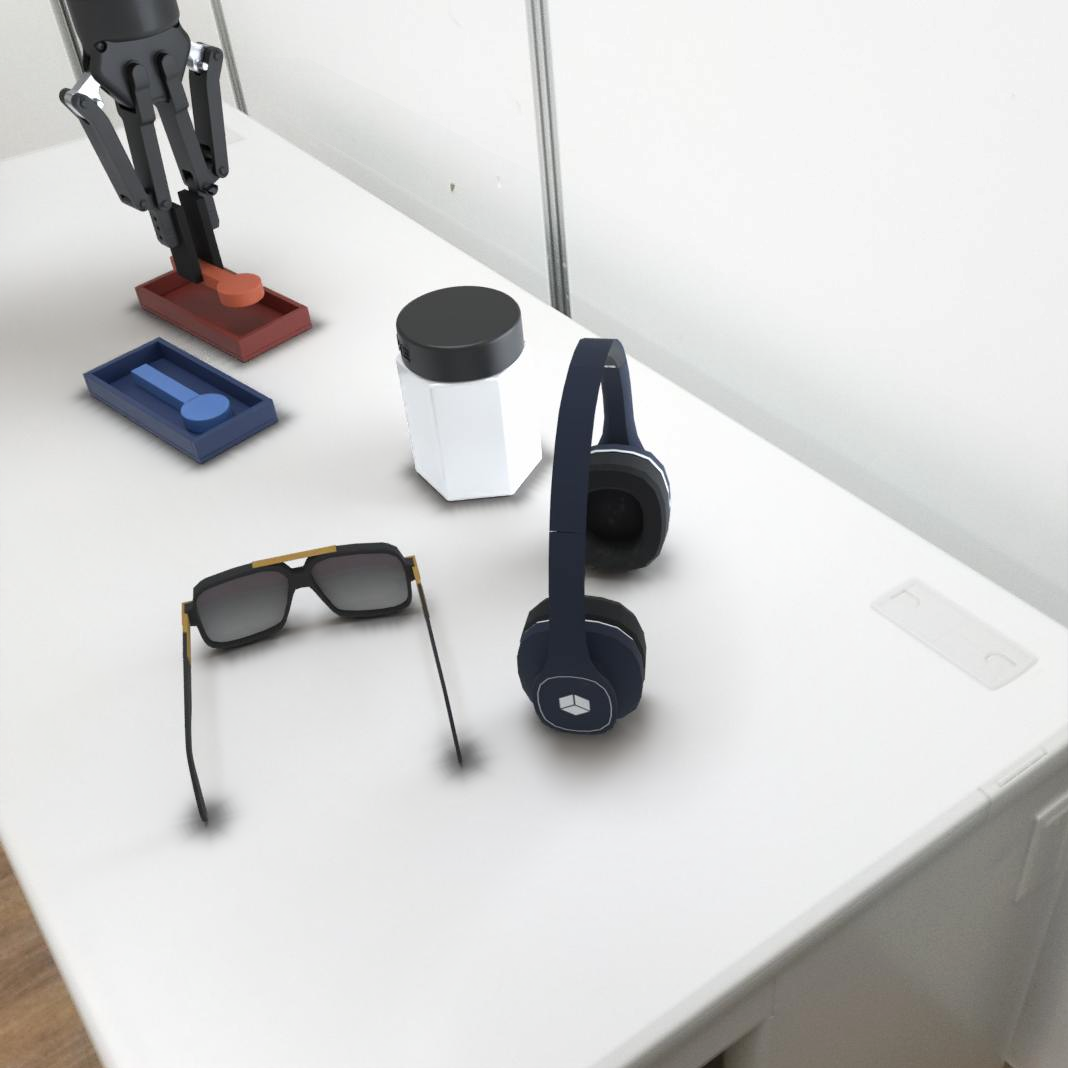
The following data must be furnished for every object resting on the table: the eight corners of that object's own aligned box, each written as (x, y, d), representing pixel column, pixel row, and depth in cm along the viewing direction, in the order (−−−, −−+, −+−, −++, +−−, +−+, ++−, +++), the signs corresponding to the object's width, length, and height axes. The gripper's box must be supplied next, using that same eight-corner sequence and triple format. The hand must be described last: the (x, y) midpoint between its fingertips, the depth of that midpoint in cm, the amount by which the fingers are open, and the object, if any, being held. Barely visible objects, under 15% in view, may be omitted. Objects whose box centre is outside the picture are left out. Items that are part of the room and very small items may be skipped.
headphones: (572, 522, 82) (551, 270, 70) (675, 527, 82) (673, 273, 69) (515, 750, 68) (477, 483, 56) (640, 760, 67) (629, 491, 55)
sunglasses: (203, 825, 65) (177, 764, 62) (196, 634, 76) (173, 573, 73) (463, 765, 67) (452, 702, 64) (420, 587, 78) (408, 526, 75)
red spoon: (162, 274, 105) (158, 261, 104) (197, 258, 107) (193, 245, 106) (237, 312, 99) (233, 298, 99) (273, 294, 101) (270, 281, 101)
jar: (459, 420, 92) (437, 273, 84) (557, 443, 89) (545, 292, 81) (396, 489, 86) (366, 338, 78) (500, 515, 83) (480, 361, 75)
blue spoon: (122, 390, 97) (118, 376, 96) (162, 370, 99) (157, 357, 98) (202, 439, 91) (198, 425, 90) (243, 417, 93) (239, 404, 92)
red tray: (140, 307, 107) (133, 287, 106) (207, 275, 111) (202, 256, 110) (244, 362, 100) (238, 342, 98) (312, 327, 103) (307, 306, 102)
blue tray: (90, 394, 97) (82, 373, 96) (165, 357, 101) (159, 336, 100) (201, 464, 89) (193, 442, 88) (278, 420, 93) (272, 399, 92)
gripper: (49, 6, 82) (153, 321, 98) (227, -48, 90) (296, 252, 106) (-7, -12, 86) (102, 294, 102) (168, -62, 94) (244, 229, 110)
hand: (201, 272), depth 104 cm, fingers closed on red spoon
